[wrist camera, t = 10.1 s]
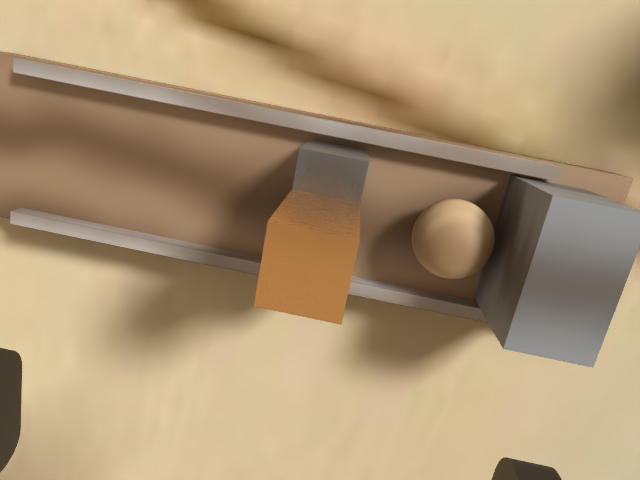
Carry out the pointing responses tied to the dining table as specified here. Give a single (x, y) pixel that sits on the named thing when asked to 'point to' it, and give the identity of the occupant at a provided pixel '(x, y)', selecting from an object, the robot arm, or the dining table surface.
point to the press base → (277, 181)
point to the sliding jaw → (315, 235)
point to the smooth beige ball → (453, 238)
